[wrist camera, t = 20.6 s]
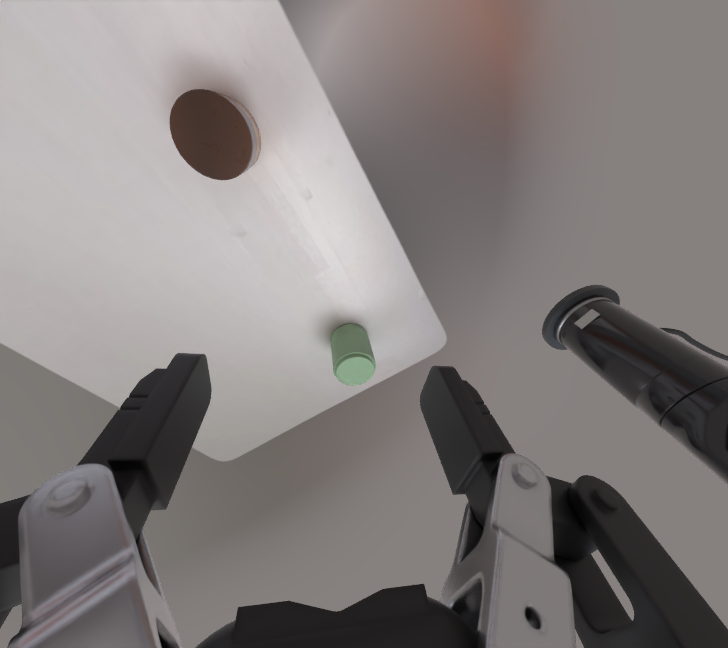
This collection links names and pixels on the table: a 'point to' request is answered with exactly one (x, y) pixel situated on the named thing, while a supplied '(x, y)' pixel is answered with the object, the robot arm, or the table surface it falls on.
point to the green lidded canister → (352, 355)
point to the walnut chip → (213, 134)
